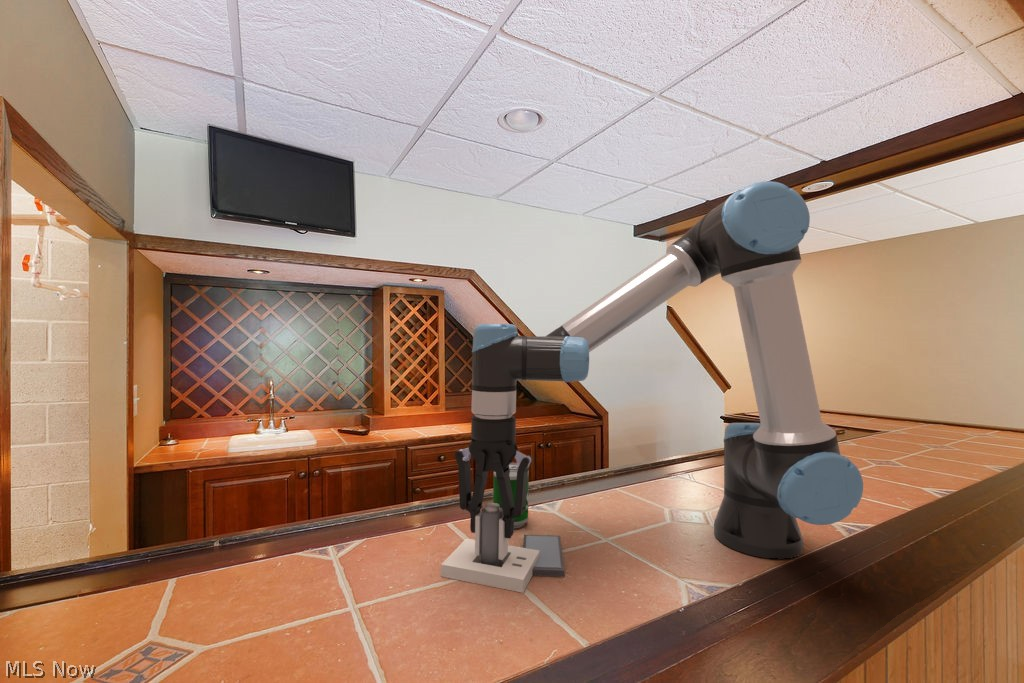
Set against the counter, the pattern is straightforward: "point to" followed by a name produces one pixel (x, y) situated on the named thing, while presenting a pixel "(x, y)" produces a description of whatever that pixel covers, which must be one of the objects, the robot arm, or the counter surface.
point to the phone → (546, 554)
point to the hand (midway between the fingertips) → (491, 553)
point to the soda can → (497, 498)
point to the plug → (490, 534)
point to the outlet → (491, 567)
